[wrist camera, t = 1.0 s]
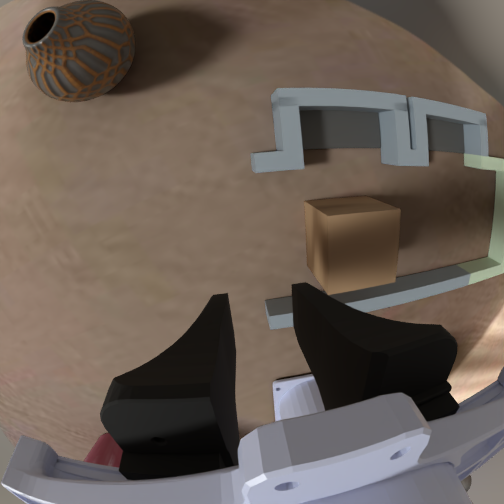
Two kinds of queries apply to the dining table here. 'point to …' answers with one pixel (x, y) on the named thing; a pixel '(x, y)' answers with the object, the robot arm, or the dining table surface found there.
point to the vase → (78, 50)
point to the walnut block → (352, 242)
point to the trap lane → (392, 152)
